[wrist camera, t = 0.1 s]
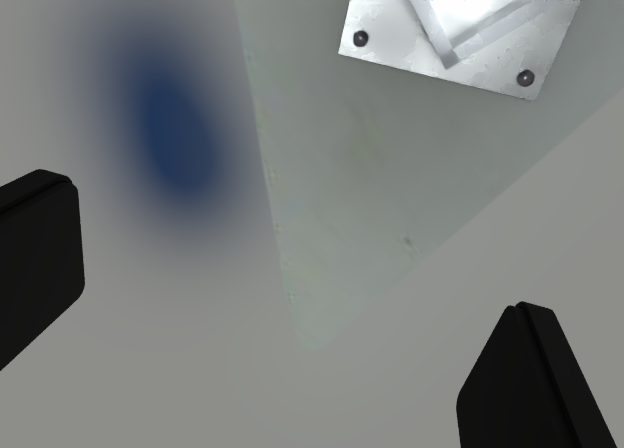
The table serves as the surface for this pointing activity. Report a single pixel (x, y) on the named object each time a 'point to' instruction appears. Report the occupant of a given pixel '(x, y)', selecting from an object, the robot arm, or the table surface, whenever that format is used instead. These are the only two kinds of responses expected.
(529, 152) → the table surface
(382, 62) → the metal base plate
